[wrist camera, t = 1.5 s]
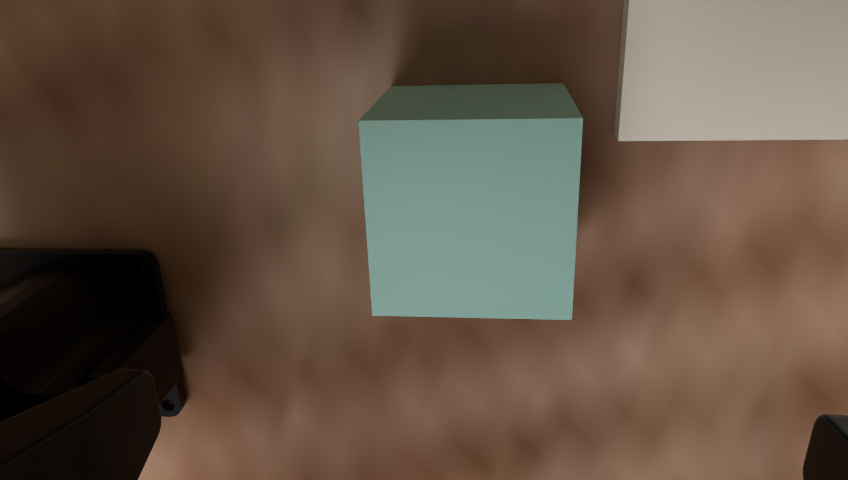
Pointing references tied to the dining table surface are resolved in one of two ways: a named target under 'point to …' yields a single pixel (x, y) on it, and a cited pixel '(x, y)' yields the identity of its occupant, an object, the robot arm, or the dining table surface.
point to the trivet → (733, 70)
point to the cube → (472, 200)
